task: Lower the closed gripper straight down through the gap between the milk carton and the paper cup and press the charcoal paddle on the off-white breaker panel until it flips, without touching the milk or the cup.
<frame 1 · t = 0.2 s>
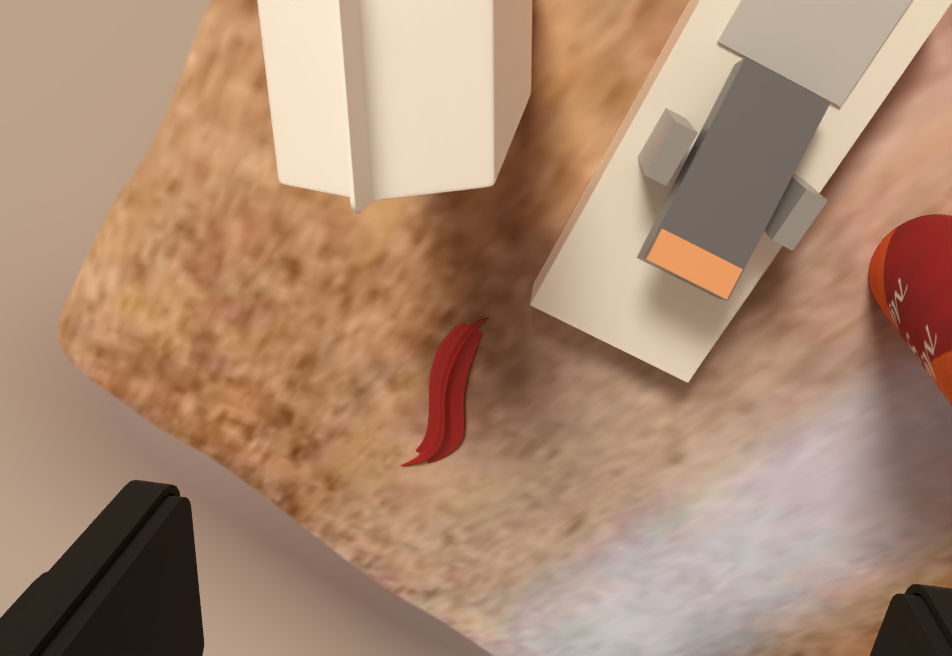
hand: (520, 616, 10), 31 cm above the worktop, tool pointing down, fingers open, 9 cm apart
breaker panel: (709, 154, 38), on the worktop
milk: (469, 29, 37), on the worktop
cayenne pepper: (449, 393, 46), on the worktop
breaker paddle: (731, 181, 32), point 6 cm above the worktop, hinge at -20.0°
paper cup: (926, 267, 39), on the worktop
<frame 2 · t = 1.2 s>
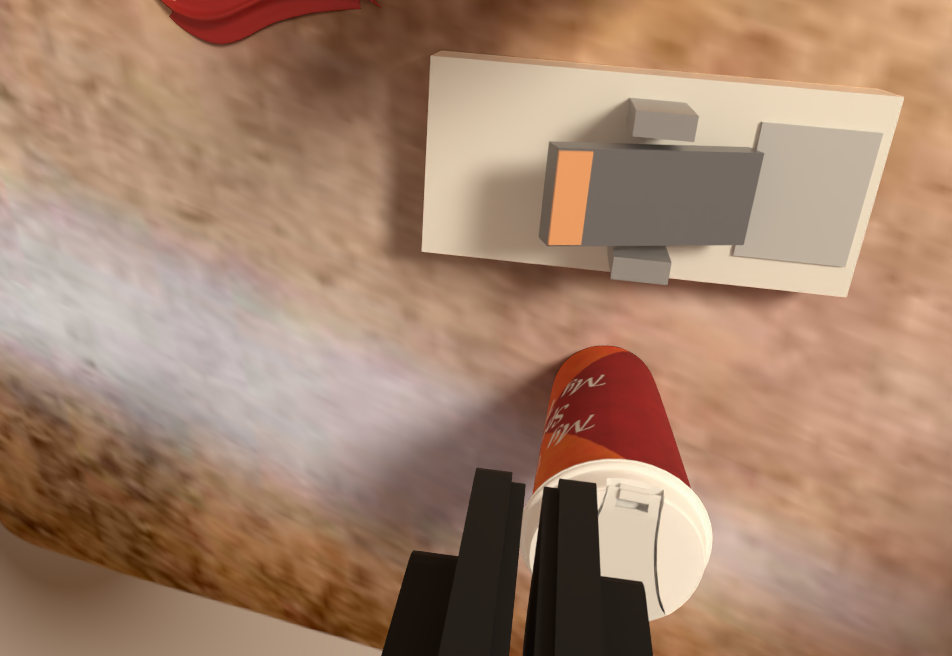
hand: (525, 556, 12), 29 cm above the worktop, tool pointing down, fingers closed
breaker panel: (639, 166, 38), on the worktop
cayenne pepper: (267, 3, 37), on the worktop
breaker paddle: (651, 195, 32), point 6 cm above the worktop, hinge at -20.0°
paper cup: (603, 389, 43), on the worktop
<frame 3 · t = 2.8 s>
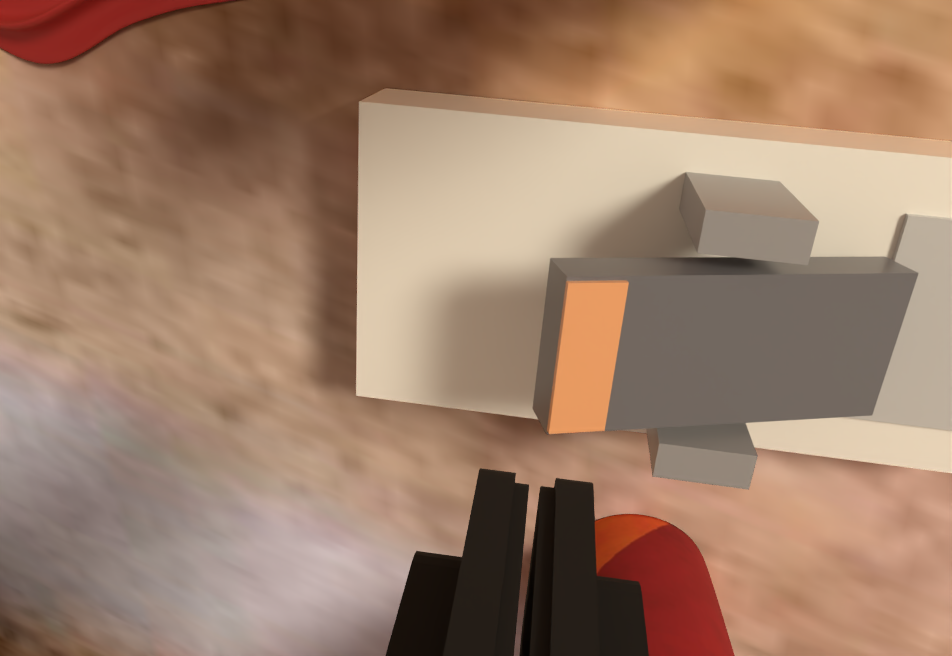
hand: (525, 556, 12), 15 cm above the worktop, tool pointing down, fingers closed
breaker panel: (693, 265, 24), on the worktop
breaker paddle: (723, 343, 19), point 6 cm above the worktop, hinge at -20.0°
paper cup: (630, 571, 30), on the worktop
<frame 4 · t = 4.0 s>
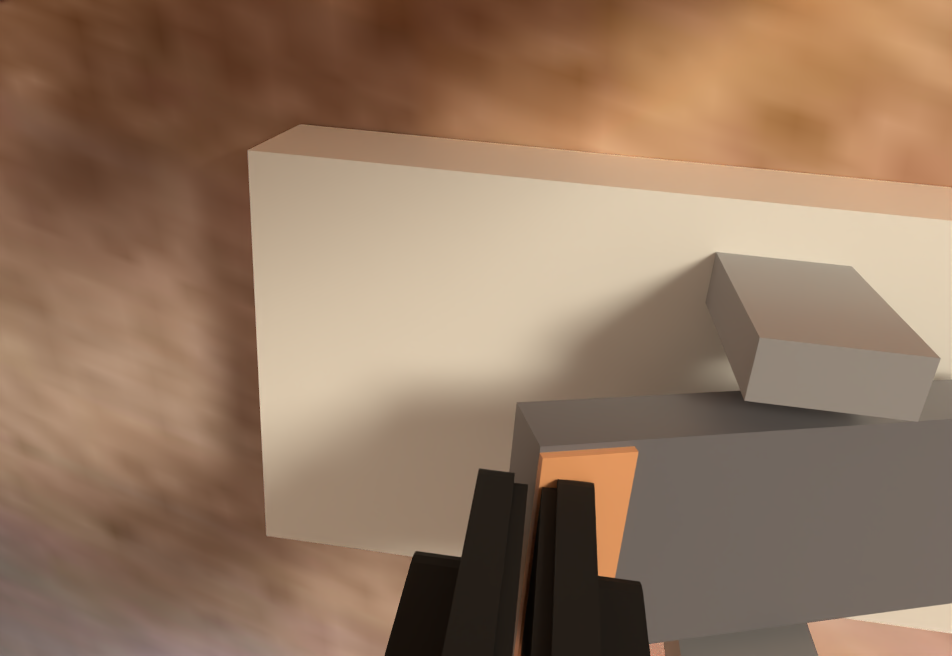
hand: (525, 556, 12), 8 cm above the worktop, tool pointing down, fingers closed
breaker panel: (717, 359, 18), on the worktop
breaker paddle: (776, 513, 13), point 6 cm above the worktop, hinge at -20.0°, touching gripper
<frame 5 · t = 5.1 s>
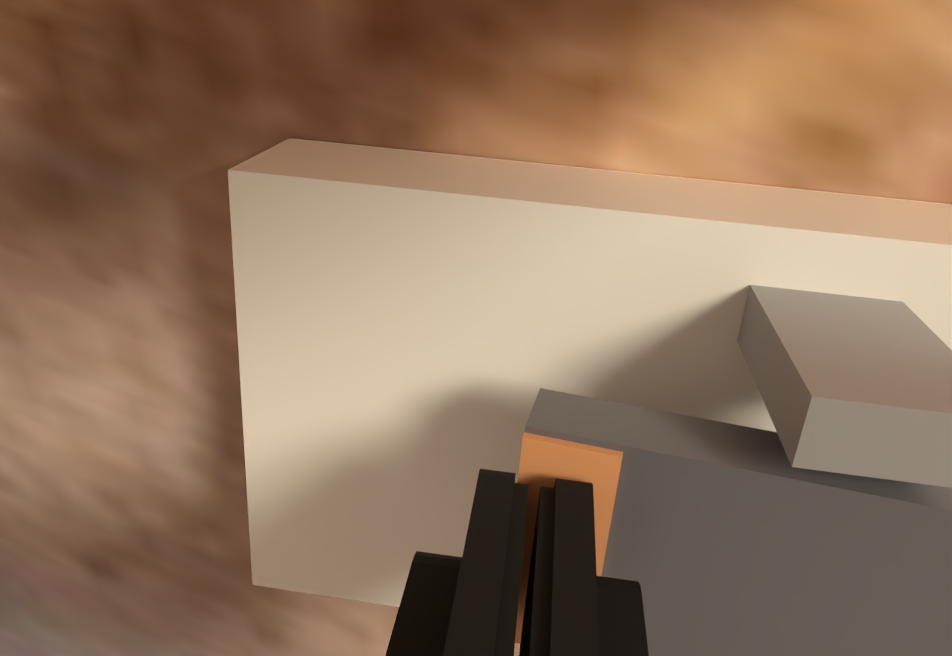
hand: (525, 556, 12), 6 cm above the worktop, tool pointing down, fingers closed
breaker panel: (744, 393, 17), on the worktop
breaker paddle: (818, 584, 11), point 6 cm above the worktop, hinge at 7.3°, touching gripper
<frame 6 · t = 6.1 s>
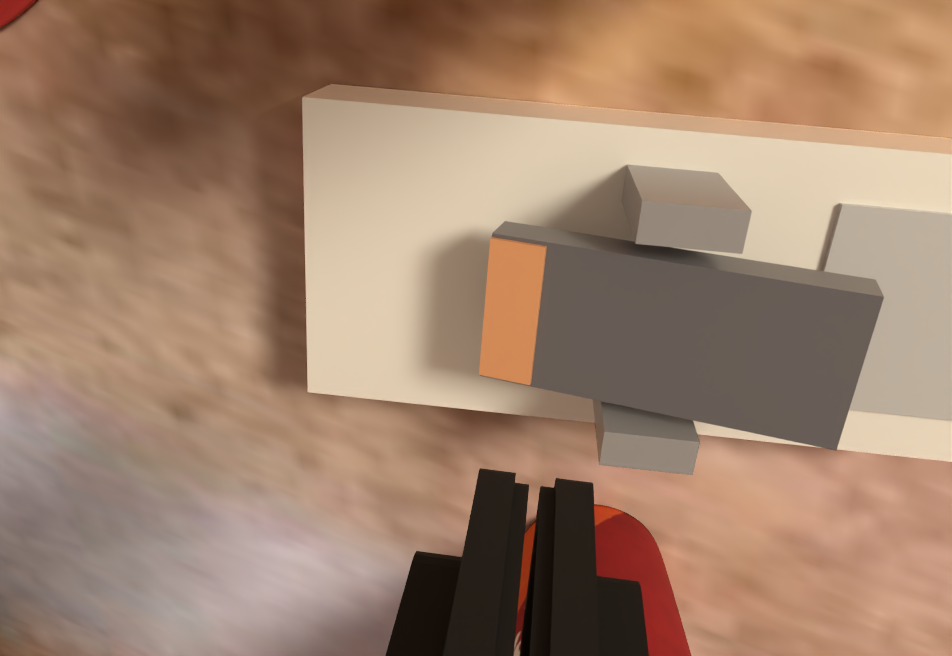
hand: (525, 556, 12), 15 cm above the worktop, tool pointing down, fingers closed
breaker panel: (639, 257, 25), on the worktop
breaker paddle: (663, 332, 19), point 6 cm above the worktop, hinge at 12.2°
paper cup: (587, 560, 30), on the worktop
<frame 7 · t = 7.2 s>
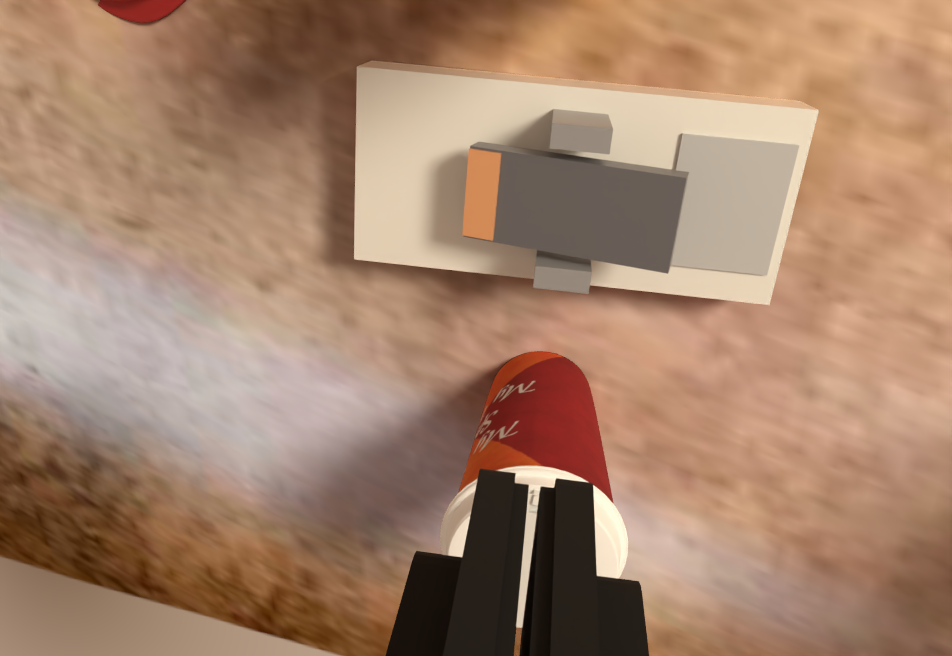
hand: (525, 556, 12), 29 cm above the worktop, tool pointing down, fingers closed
breaker panel: (569, 175, 38), on the worktop
breaker paddle: (570, 206, 33), point 6 cm above the worktop, hinge at 13.0°
paper cup: (540, 394, 44), on the worktop
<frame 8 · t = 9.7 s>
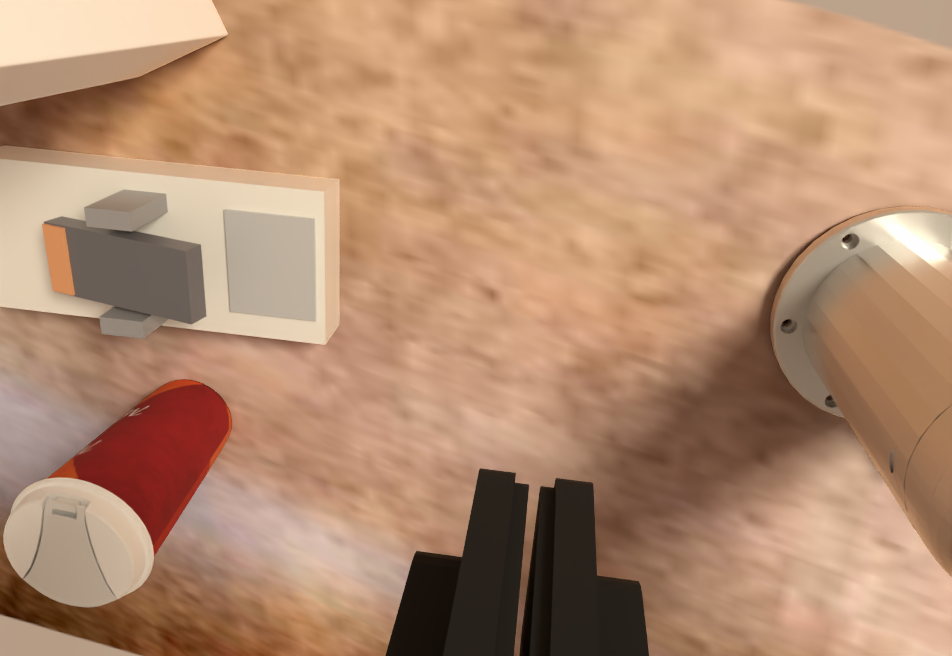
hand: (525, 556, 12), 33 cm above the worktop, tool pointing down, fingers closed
breaker panel: (176, 236, 46), on the worktop
milk: (157, 1, 41), on the worktop
breaker paddle: (124, 269, 41), point 6 cm above the worktop, hinge at 13.2°
paper cup: (193, 415, 52), on the worktop
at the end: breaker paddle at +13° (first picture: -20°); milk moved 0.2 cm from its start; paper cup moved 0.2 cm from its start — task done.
